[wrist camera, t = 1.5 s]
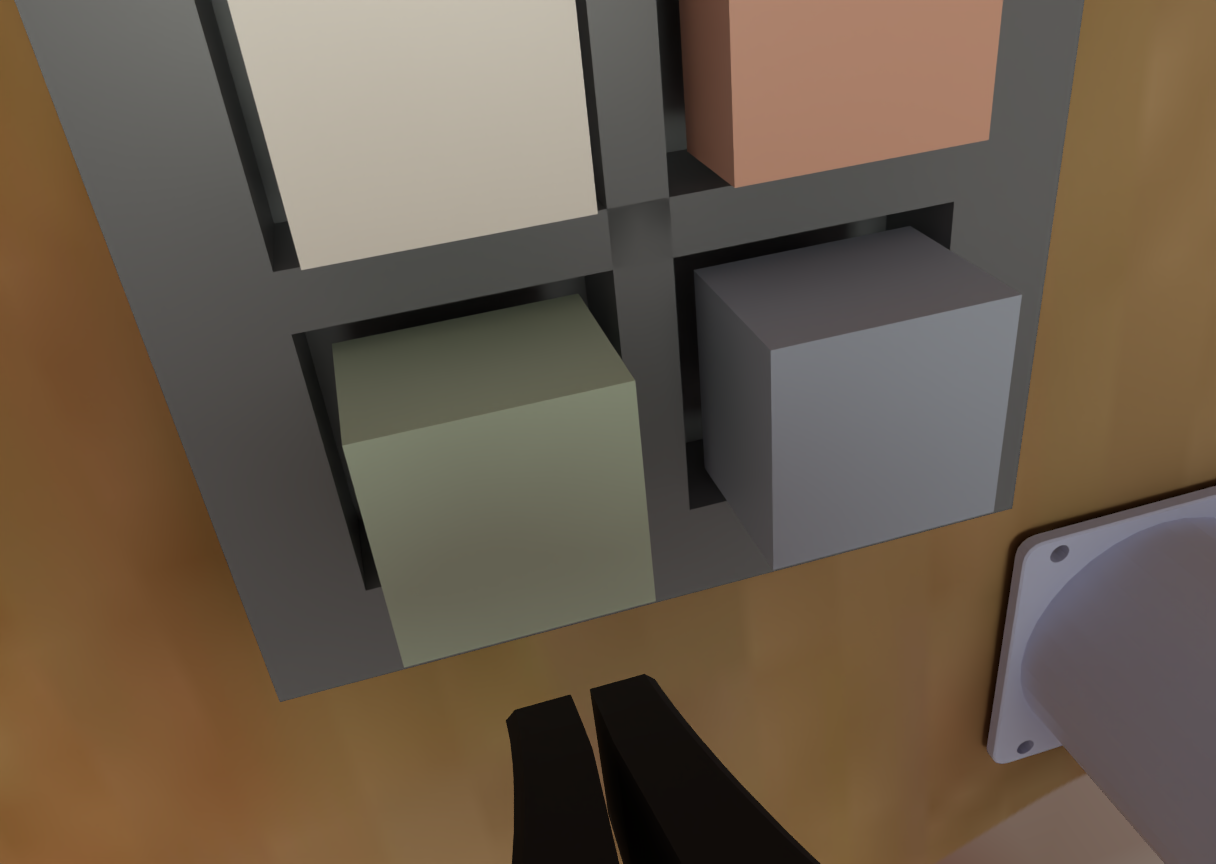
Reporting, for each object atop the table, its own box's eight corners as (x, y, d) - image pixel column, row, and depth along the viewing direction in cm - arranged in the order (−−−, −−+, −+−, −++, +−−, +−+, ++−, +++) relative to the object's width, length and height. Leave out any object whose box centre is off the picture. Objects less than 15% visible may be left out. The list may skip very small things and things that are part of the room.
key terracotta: (936, -174, 14) (1021, -176, 13) (917, 109, 17) (988, 139, 15) (671, -140, 14) (725, -138, 12) (687, 151, 16) (734, 188, 14)
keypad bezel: (1030, -385, 15) (1154, -422, 13) (949, 450, 23) (1017, 513, 21) (-44, -293, 12) (-113, -321, 10) (279, 617, 20) (280, 709, 18)
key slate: (910, 225, 18) (1021, 294, 15) (897, 421, 20) (993, 511, 17) (693, 269, 17) (770, 350, 14) (704, 467, 19) (773, 569, 16)
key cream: (527, -122, 13) (563, -117, 12) (563, 173, 16) (597, 213, 14) (217, -84, 13) (208, -71, 11) (298, 221, 15) (301, 270, 13)
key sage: (578, 293, 17) (634, 381, 14) (602, 492, 19) (655, 600, 16) (331, 343, 16) (342, 445, 13) (385, 544, 18) (403, 667, 15)
